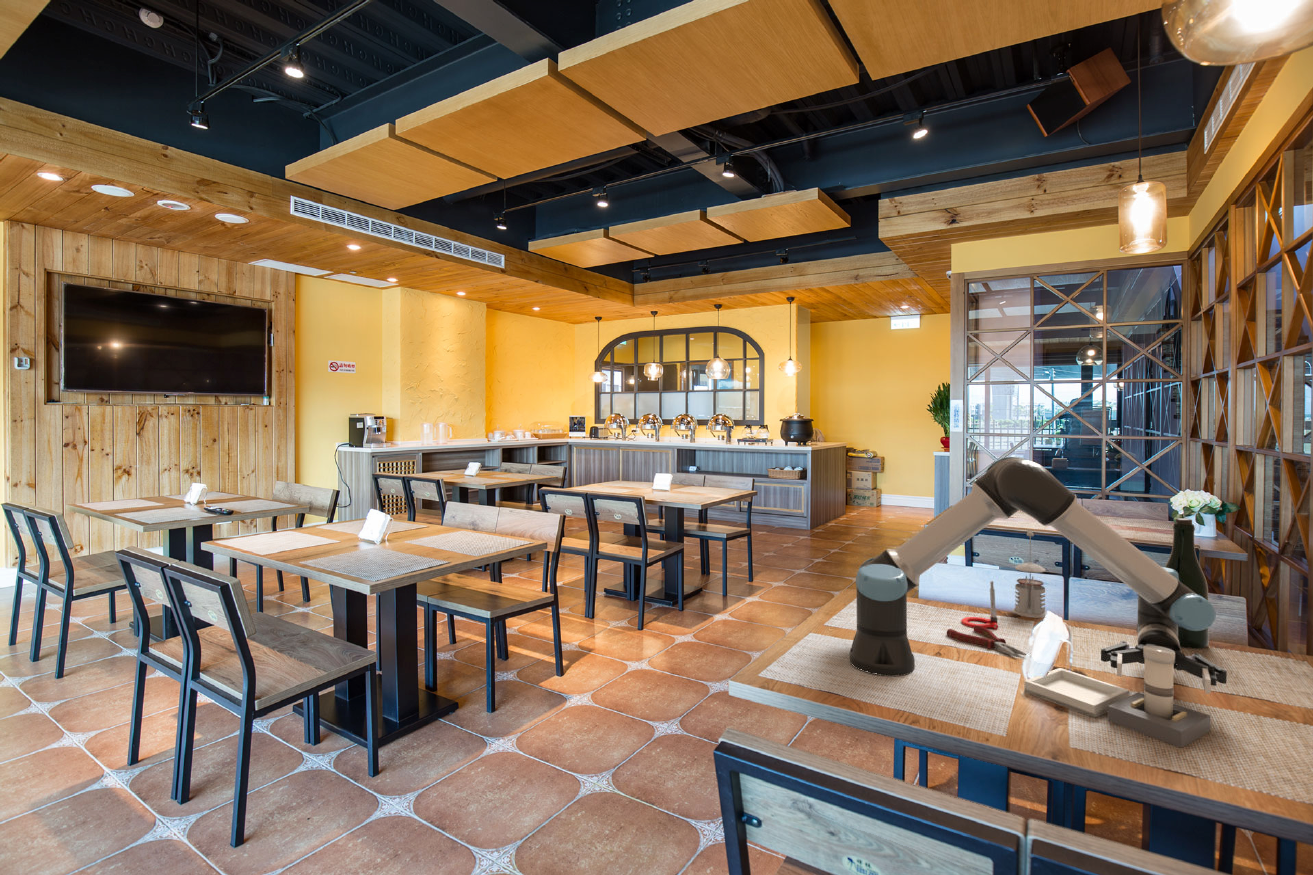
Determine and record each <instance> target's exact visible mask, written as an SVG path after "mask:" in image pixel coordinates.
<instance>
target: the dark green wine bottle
mask: <svg viewBox="0 0 1313 875" xmlns="http://www.w3.org/2000/svg"><path fill="white" fill-rule="evenodd" d="M1172 529H1173V530H1172V531H1173V537H1172V538H1173V539H1172V540H1173V541H1172V549H1171V552H1170V555H1169V558H1168V559H1167V562H1166V564H1165V565H1164V567H1165V568H1170V569H1173V570H1175V571H1177V572H1178V575H1179V581H1180V582H1181V583H1183V584H1184V585H1185V586H1187V587H1188V588H1189V589H1190V590H1192V591H1193V592H1194V593H1196V594H1197V595H1201V596H1202V597H1204V598H1205V599H1206V600H1207V601H1209V586H1208V582H1207V579H1206V576H1205V574H1204V570H1203V569H1202V567H1201V565H1200V561H1199V560H1198V557H1197V553H1196V546H1195V544H1196V543H1195V530H1196V527H1195V525H1194V524H1193V519H1190V518H1183V517H1182V518H1181V517H1180V518H1179V517H1178V518H1175V523H1173V526H1172ZM1209 602H1210V601H1209ZM1178 640H1179V644H1180V648H1185V649H1193V650H1194V649H1196V650H1197V649H1199V650H1200V649H1204V648H1205V649H1206V648H1207V647H1208V646H1209V643H1210V627H1209V628H1207V629H1205V630H1201V631H1192V630H1188V629H1185V628H1183V627H1180V626H1178Z"/></svg>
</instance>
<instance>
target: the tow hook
mask: <svg viewBox="0 0 1313 875" xmlns="http://www.w3.org/2000/svg"><path fill="white" fill-rule="evenodd" d="M989 583H990V588H989V597H990V598H989V599H990V600H989V601H990V607H989V612H990V616H989V618H986V617H979V616H968V617H967V616H966V617H963V618H961V619H960V620H961V624H962V625H964V626H965V627H966V626H967V627H970V628H974V626H976V625H978V626H981V627H983V628H986V629H988V628H991V629H992V628H993V629H994V630H997V629H999V626H998V617H997V608H996V593H995V588H994V581H993V580H991V581H990V582H989ZM974 622H983V623H974Z"/></svg>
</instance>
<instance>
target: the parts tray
mask: <svg viewBox="0 0 1313 875" xmlns="http://www.w3.org/2000/svg"><path fill="white" fill-rule="evenodd" d="M1048 672H1049V673H1048V675H1047V676H1045V677H1042V676H1039V675H1036V676H1033V677H1031V678H1028V679H1025V680H1024V682H1023V683H1024V688H1023V690H1024V693H1025V694H1029V695H1031V696H1034V697H1037V698H1040V699H1042V700H1045V701H1048V702H1051V703H1053V704H1055V705H1058V706H1062V707H1064V708H1066V709H1070V710H1071V711H1074V712H1078V713H1080V714H1082V715H1085V716H1088V717H1090V718H1093V719H1096V718H1097V717H1100V716H1101V715H1104V714H1106V713H1108V706H1109V705H1111V704H1113V703H1116V702H1118V701H1120V700H1122V699H1124V698H1127V697H1129V696H1130V689H1127V688H1124V687H1121V686H1118V685H1115V684H1112V683H1108V682H1105V681H1102V680H1099V679H1096V678H1093V677H1090V676H1087V675H1084V674H1080V673H1077V672H1074V671H1071V670H1069V669H1066V668H1065V669H1064V668H1062V667H1058V668H1056V669H1053V670H1050V671H1048Z"/></svg>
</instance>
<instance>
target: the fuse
mask: <svg viewBox="0 0 1313 875" xmlns="http://www.w3.org/2000/svg"><path fill="white" fill-rule="evenodd" d="M1143 657H1144V658H1145V664H1144V679H1143V680H1144V681H1143V694H1144V712H1146V713H1149V714H1152V715H1155V716H1158V717H1161V718H1164V719H1166V720H1171V719H1172V717H1173V704H1174V695H1175V694H1174V691H1175V690H1174V670H1175V669H1174V663H1175V652H1174V651H1173V650H1171V649H1168V648H1165V647H1161V646H1153V645H1147V646H1144V647H1143Z"/></svg>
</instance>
